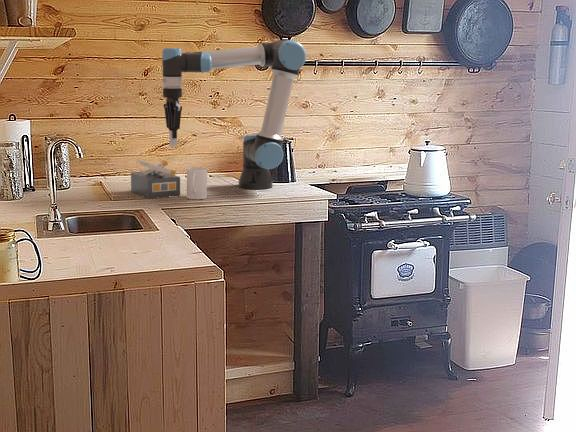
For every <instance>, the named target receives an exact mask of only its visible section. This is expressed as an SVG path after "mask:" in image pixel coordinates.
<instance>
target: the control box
mask: <svg viewBox="0 0 576 432" xmlns="http://www.w3.org/2000/svg"><path fill="white" fill-rule="evenodd" d="M130 192H132V193H134V194H136V193H137V194H136V195H138V194H139V196H140V195H142V196H144V197H143V198H145V197H146V198H145V199H147V198H155V199H158V198H157V197H167V198H170V197H169V196H178V197H180V196H181V177H180V176H178V175H176V174H175V175H172V174H168V173H164V172H161V171H157V170H155V171H153V172H151V173H148V174H146V175H143V174H141V171H133V172H130ZM179 195H180V196H179ZM142 196H141V197H142Z"/></svg>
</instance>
